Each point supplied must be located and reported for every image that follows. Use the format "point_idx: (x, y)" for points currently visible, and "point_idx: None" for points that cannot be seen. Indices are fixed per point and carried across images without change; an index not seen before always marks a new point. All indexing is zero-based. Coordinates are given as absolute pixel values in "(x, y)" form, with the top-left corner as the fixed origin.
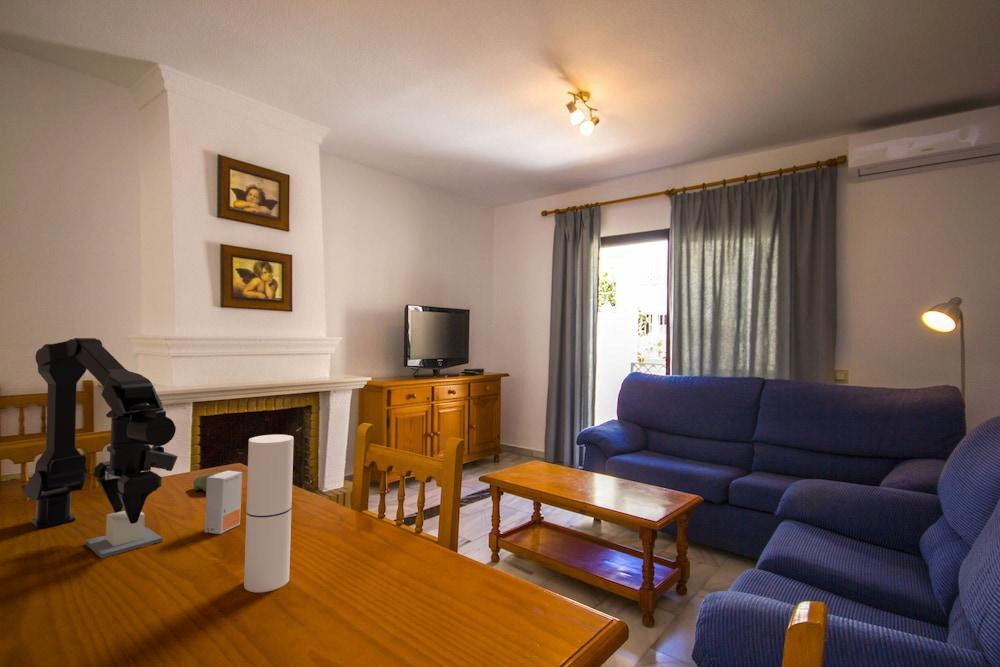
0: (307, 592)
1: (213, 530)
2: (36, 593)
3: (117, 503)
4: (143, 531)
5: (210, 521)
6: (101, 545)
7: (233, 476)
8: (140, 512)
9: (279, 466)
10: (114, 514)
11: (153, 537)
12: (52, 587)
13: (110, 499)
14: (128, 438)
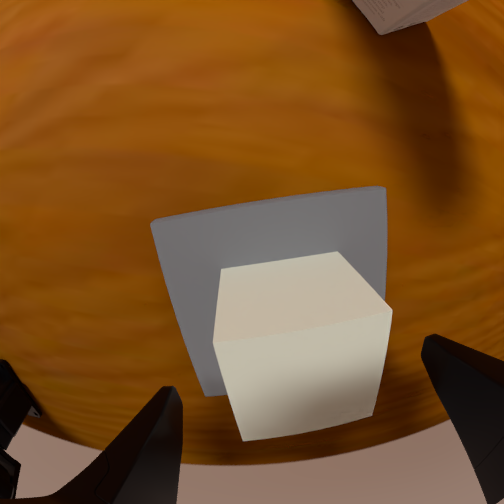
0: None
1: (414, 23)
2: (427, 414)
3: (170, 439)
4: (348, 265)
5: (424, 14)
6: None
7: None
8: (477, 352)
9: None
10: (269, 424)
11: (356, 216)
12: (428, 403)
13: (177, 483)
14: None
